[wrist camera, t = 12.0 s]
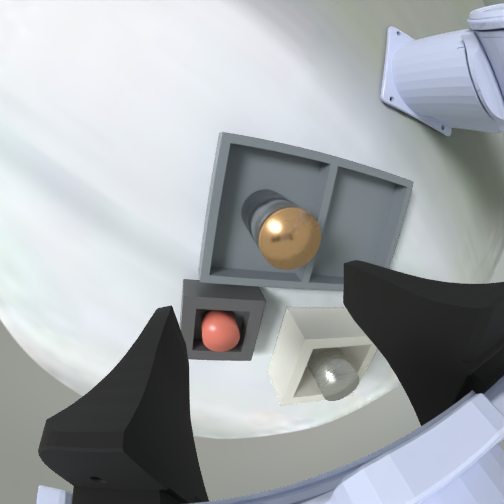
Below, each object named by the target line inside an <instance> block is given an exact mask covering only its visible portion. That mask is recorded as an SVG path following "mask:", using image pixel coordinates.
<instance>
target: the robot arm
mask: <svg viewBox="0 0 504 504" xmlns="http://www.w3.org/2000/svg"><path fill="white" fill-rule="evenodd" d="M467 23H468V25H469V26H470V29H464V30H458V31H453V32H448V33H443V34H439V35H434V36H430V37H426V38H422V39H418V40H414V39H413V38H411V37H410V36H408V35H407V34H405V33H403V32H402V31H400V30H398V29H397V28H395V27H393V26H392V27H389V28H388V34H387V46H386V56H385V65H384V74H383V82H382V89H381V100H382V101H383V102H384V103H386V104H388V105H390V106H392V107H394V108H396V109H399V110H401V111H402V112H404V113H406V114H408V115H410V116H412V117H414V118H416V119H418V120H420V121H421V122H423V123H425V124H427V125H428V126H430V127H432V128H434V129H435V130H437V131H439V132H440V133H442V134H444V135H445V136H450V135H451V131H452V128H459V129H468V130H475V131H482V132H489V133H500V132H503V131H504V3H502V4H496V5H491V6H487V7H483V8H479V9H476V10H474V11H471V12H470V14H469V18H468V19H467ZM397 34H398V35H397ZM390 98H391V100H392V101H390ZM441 127H442V128H441ZM343 303H344V305H345V307H346V308H347V310H348V312H349V313H350V315H351V317H352V318H353V320H354V321H355V322H356V323H357V325H358V326H359V327H360V328H361V329H362V331H363V332H364V333H365V334H366V335H367V337H368V338H369V339H370V340H371V341H372V342H373V344H374V345H375V346H376V347H377V348H378V350H379V351H380V352H381V353H382V354H383V356H384V357H385V358H386V360H387V361H388V363H389V364H390V366H391V368H392V369H393V371H394V372H395V374H396V376H397V377H398V379H399V381H400V383H401V384H402V386H403V388H404V390H405V391H406V393H407V395H408V397H409V399H410V402H411V404H412V406H413V408H414V410H415V412H416V414H417V417H418V419H419V422H420V424H421V427H420V428H418V429H416V430H415V431H413V432H411V433H410V434H408V435H406V436H405V437H403V438H401V439H399V440H397V441H395V442H393V443H392V444H390V445H388V446H386V447H384V448H382V449H380V450H378V451H376V452H374V453H372V454H370V455H368V456H366V457H363V458H361V459H359V460H357V461H354V462H352V463H350V464H347V465H345V466H343V467H340V468H337V469H335V470H332V471H330V472H327V473H324V474H321V475H319V476H316V477H313V478H310V479H307V480H304V481H301V482H298V483H295V484H291V485H288V486H284V487H280V488H276V489H273V490H268V491H264V492H260V493H256V494H251V495H246V496H241V497H235V498H229V499H223V500H216V501H209V500H208V497H207V493H206V490H205V487H204V483H203V479H202V475H201V471H200V467H199V463H198V458H197V453H196V448H195V443H194V438H193V432H192V426H191V419H190V399H189V362H188V354H187V347H186V343H185V340H184V338H183V335H182V332H181V330H180V327H179V324H178V322H177V319H176V316H175V313H174V310H173V307H172V306H167V307H162V308H158V309H157V310H156V311H155V313H154V314H153V316H152V317H151V319H150V320H149V322H148V323H147V325H146V327H145V328H144V330H143V331H142V333H141V334H140V336H139V337H138V339H137V340H136V341H135V343H134V344H133V345H132V347H131V348H130V349H129V351H128V352H127V353H126V355H125V356H124V357H123V358H122V360H121V361H120V362H119V363H118V364H117V365H116V366H115V368H114V369H113V370H112V371H111V372H110V373H109V374H108V375H107V376H106V377H105V378H104V379H103V380H102V381H100V382H99V383H98V384H97V385H96V386H95V387H94V388H93V389H92V390H90V391H89V392H88V393H87V394H85V395H84V396H83V397H82V398H80V399H79V400H78V401H76V402H75V403H74V404H72V405H70V406H69V407H68V408H66V409H64V410H62V411H61V412H59V413H58V414H56V415H54V416H52V417H51V418H49V419H47V420H46V424H45V427H44V431H43V435H42V438H41V442H40V446H39V450H38V452H39V456H40V458H41V459H42V461H43V462H44V463H45V464H46V465H47V466H48V467H49V468H50V469H51V470H53V471H54V472H55V473H57V474H58V475H59V476H61V477H62V478H64V479H65V480H66V481H68V482H69V483H71V484H72V485H73V486H74V490H73V493H71V492H68V491H66V490H62V489H56V488H51V487H47V486H42V485H40V486H39V488H38V495H37V502H36V504H504V451H503V450H502V449H501V448H500V446H499V444H500V443H501V442H502V441H503V440H504V282H500V283H489V284H460V283H448V282H441V281H435V280H429V279H424V278H420V277H416V276H412V275H408V274H404V273H401V272H397V271H394V270H391V269H388V268H384V267H381V266H378V265H375V264H371V263H368V262H364V261H359V260H354V261H350V262H346V263H344V295H343Z"/></svg>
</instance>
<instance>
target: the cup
mask: <svg viewBox="0 0 504 504" xmlns="http://www.w3.org/2000/svg"><path fill="white" fill-rule="evenodd" d="M334 347H339V348H340V350H341V351H342V352H343V354H344V355H345V357H346V358H347V360H348V361H349V363H350V364H351V366H352V367H353V368H354V370H355V371H356V373H357V374H358V376H359V378H360V381H361V379H362V377H363V375H364V373H365V372H366V370H367V368H368V366H369V364H370V362H371V360H372V358H373V356H374V355H375V353H376V351H377V349H378V348H377V347H376V346H375V345H374V344H373V342H372V341H371V340H370V339H369V338H368V337H367V335H366V334H365V333H364V332H363V331H362V329H361V328H360V327H359V326H358V325H357V323H356V322H355V321H354V320H353V318H352V317H351V315H350V313H349V312H348V310H347V308H304V307H287V308H286V311H285V315H284V318H283V322H282V325H281V329H280V332H279V336H278V339H277V342H276V346H275V349H274V352H273V356H272V359H271V362H270V365H269V369H268V375H269V377H270V380H271V383H272V386H273V388H274V391H275V394H276V396H277V399H278V402H279V405H289V404H298V403H307V402H314V401H321V400H326V399H325V398H324V396H323V395H322V393H321V391H320V389H319V387H318V385H317V383H316V381H315V379H314V377H313V376H312V374H311V372H310V370H309V368H308V366H307V363H308V361H309V358H310V355H311V353H312V350H313V349H318V348H334ZM356 388H357V387H356ZM354 391H355V390H354ZM354 391H353V392H352V393H350V394H349V395H348V396H351V395H353V393H354Z"/></svg>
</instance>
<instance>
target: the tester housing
mask: <svg viewBox="0 0 504 504" xmlns="http://www.w3.org/2000/svg"><path fill="white" fill-rule="evenodd" d="M265 302H266V300H265V298H264V296H263V294H262V292H261V290H260V288H259V286H244V285H229V284H216V283H204V282H200V281H199V280H187V279H184V280H183V291H182V304H181V318H180V330H181V332H182V335H183V338H184V340H185V343H186V347H187V354H188V359H197V360H231V361H251V359H252V355H253V351H254V347H255V343H256V339H257V335H258V331H259V327H260V323H261V319H262V315H263V311H264V306H265ZM209 310H225V311H231V312H232V313H233V314H234V316H235V319H236V322H237V326H238V329H239V333H240V340H239V342H238V344H237V345H236V346H235V347H234V348H232V349H230V350H228V351H224V352H216V351H212V350H210V349H208V348H207V347H206V346H205V345H204V343H203V339H202V329H201V319H202V317H203V315H204V314H205V313H206V312H208V311H209Z"/></svg>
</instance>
